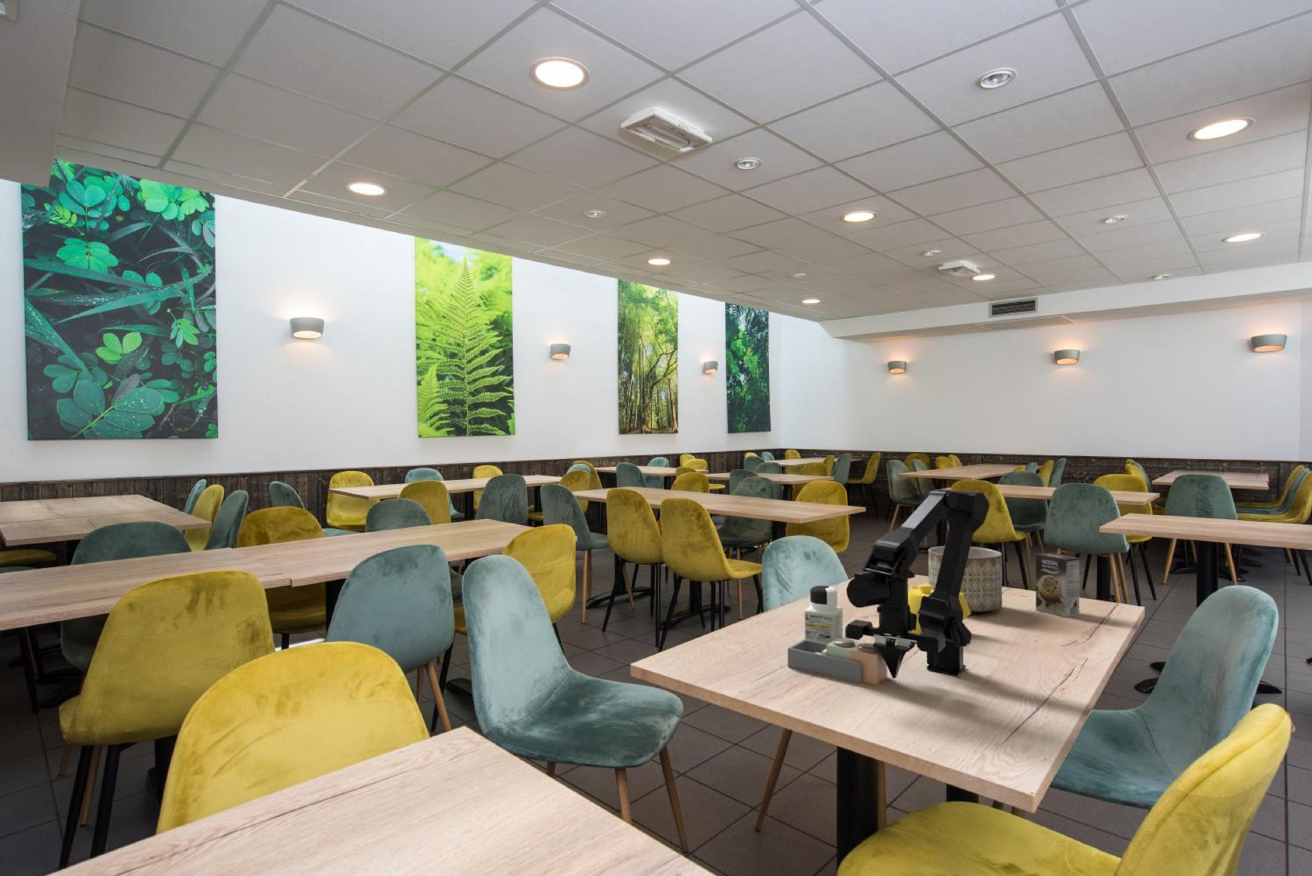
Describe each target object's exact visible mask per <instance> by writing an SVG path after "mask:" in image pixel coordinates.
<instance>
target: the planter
mask: <svg viewBox="0 0 1312 876" xmlns="http://www.w3.org/2000/svg"><path fill="white" fill-rule="evenodd" d="M944 547H945V545H944V546H943V545H941V546H932V547H929V548H928V585H931V586H932V589H931V590H934V589H935V585H936V581H937V577H938V573H939V568H940V564H941V560H942V556H943V552H944ZM1002 555H1003V554H1002V552H1001V551H998V550H993V549H990V548H986V547H985V548H984V547H977V546H970V550H969V555H968V559H967V563H966V568H965V572H964V576H963V581H962V585H961V589H960V593H963V594H964V596H965V599H966V601H967V604H968V607H969V610H970V612H971V614H976V613H983V612H990V611H996V610H999V609H1001V608H1002V607H1003V557H1002Z"/></svg>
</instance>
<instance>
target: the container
mask: <svg viewBox="0 0 1312 876" xmlns="http://www.w3.org/2000/svg"><path fill="white" fill-rule="evenodd" d="M809 593H810V596H809V598H810V599H809V600H810V601H809V604H810V606H809V607H807V608H806V609H805V610H804V639H805V640H810V641H815V642H820V643H825V644H829V643H831V642H832V641H833V640H834V639H838V638H844V630H843V629H844V628H843V627H844V624H843V621H844V619H843V618H844V616H843V615H844V614H843V613H844V611H843V610H844V609H843V608H844V607H843V606H839V605H838V590H837V588H835V587H833V586H830V585H815V586H813V587H811V588H810V589H809Z"/></svg>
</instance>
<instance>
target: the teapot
mask: <svg viewBox="0 0 1312 876" xmlns="http://www.w3.org/2000/svg"><path fill="white" fill-rule="evenodd" d="M918 587H919V588H918ZM931 589H932V586H931V585H929V584H927V583H921V584H918V585H912V584H911V585H910V589H908V605H910V612H911V613H914V614H916V615H917V622H916V630H912V631H909V633H913V634H920V633H922V631H921V628H920V624H919V622H918V617H919V614H918V611H919V609H920V605H921V599H922V597H923V596H929V595H930V594H931V593H932V592H933V591H934V590H931ZM959 601H960V604H961V606H962V609H963V621H964V620H966V618H968V617H969V616H970V615H971V614H972V613H971V612H970V610H969V607H968V604H967V601H966V599H965V596H964V594H963V593H960V594H959Z"/></svg>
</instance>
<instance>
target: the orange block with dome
mask: <svg viewBox="0 0 1312 876" xmlns="http://www.w3.org/2000/svg"><path fill="white" fill-rule="evenodd" d="M851 661H854V662H859V663H862V683H863V682H864V683H868V684H872V685H876V686H877V685H879V684H880V683H882V681H884V680H885V679H887V678H888V667H887V665H886V662H885V660H884V658H883V657H882V655H881V653H880V652H879V650H878V648H877V647H873V643H867V642H863V643H861V644H859V645H858V646H857V647H855V648H853V649H852V650H851Z"/></svg>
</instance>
